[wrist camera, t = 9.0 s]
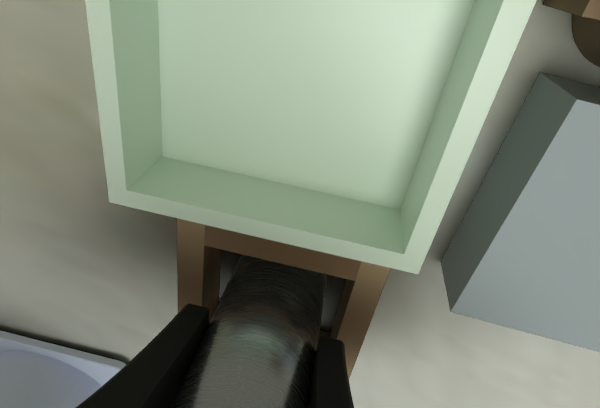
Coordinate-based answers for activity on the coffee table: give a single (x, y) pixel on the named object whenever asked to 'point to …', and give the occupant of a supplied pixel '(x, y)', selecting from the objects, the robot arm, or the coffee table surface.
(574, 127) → the pale blue block
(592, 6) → the brown block with knobs
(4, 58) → the coffee table surface
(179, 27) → the tray
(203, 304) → the socket
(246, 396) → the dowel
